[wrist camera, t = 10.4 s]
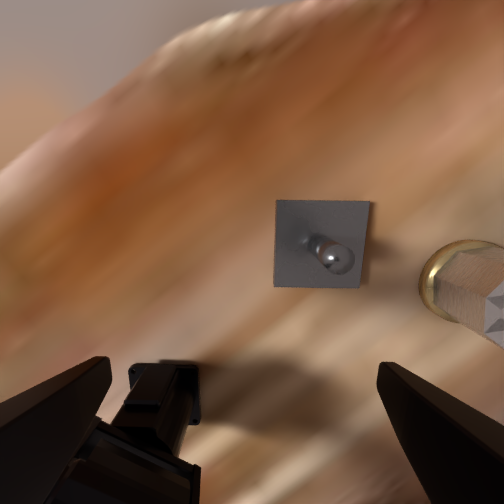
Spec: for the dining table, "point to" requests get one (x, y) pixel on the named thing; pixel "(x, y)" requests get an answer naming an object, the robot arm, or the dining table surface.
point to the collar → (474, 291)
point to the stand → (319, 243)
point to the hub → (436, 264)
